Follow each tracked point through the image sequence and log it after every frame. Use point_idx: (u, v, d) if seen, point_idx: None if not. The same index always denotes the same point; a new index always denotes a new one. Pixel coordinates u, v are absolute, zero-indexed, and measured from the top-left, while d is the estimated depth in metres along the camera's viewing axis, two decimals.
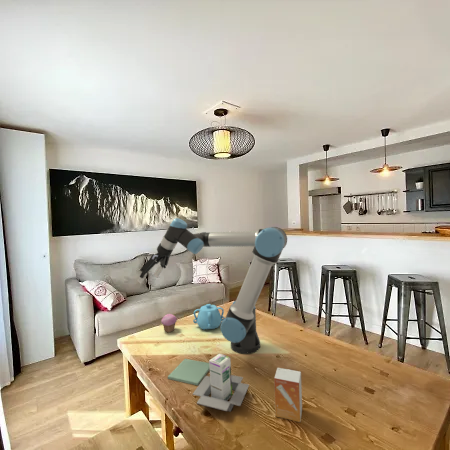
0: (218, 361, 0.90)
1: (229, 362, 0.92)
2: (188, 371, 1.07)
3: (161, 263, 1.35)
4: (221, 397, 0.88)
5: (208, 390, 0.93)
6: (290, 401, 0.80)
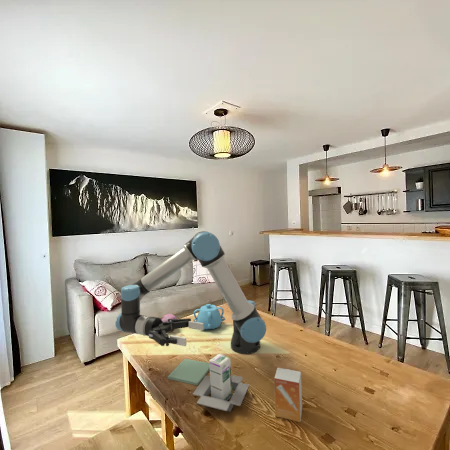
0: (218, 361, 0.90)
1: (229, 362, 0.92)
2: (188, 371, 1.07)
3: (182, 325, 1.04)
4: (221, 397, 0.88)
5: (208, 390, 0.93)
6: (290, 401, 0.80)
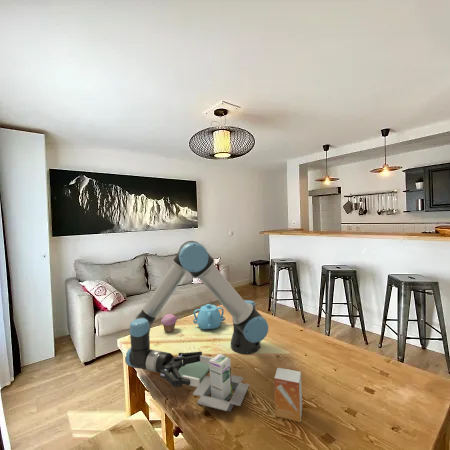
0: (218, 361, 0.90)
1: (229, 362, 0.92)
2: (188, 371, 1.07)
3: (194, 360, 1.02)
4: (221, 397, 0.88)
5: (208, 390, 0.93)
6: (290, 401, 0.80)
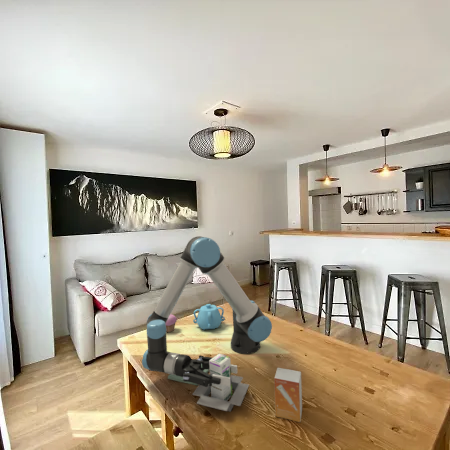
0: (218, 361, 0.90)
1: (229, 362, 0.92)
2: None
3: None
4: (221, 397, 0.88)
5: (208, 390, 0.93)
6: (290, 401, 0.80)
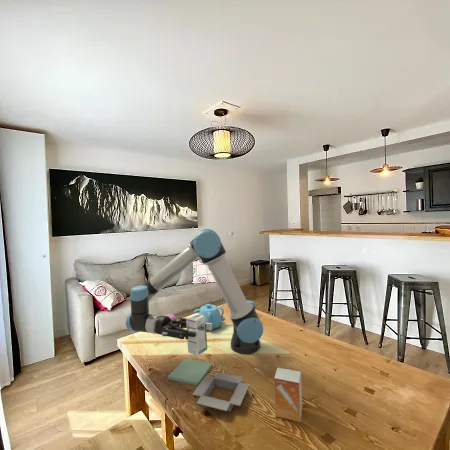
0: (194, 318, 1.00)
1: (204, 319, 1.02)
2: (188, 371, 1.07)
3: None
4: (196, 350, 0.98)
5: (208, 390, 0.93)
6: (290, 401, 0.80)
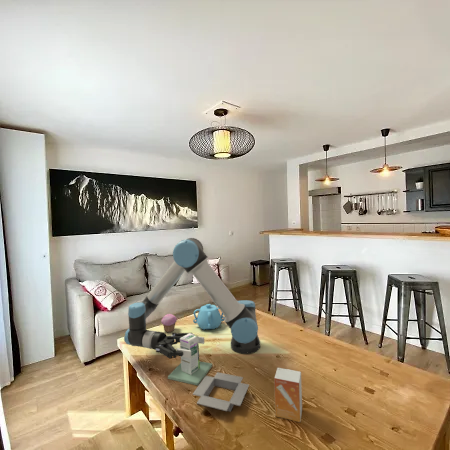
0: (187, 338, 1.06)
1: (197, 339, 1.08)
2: None
3: None
4: (189, 369, 1.05)
5: (208, 390, 0.93)
6: (290, 401, 0.80)
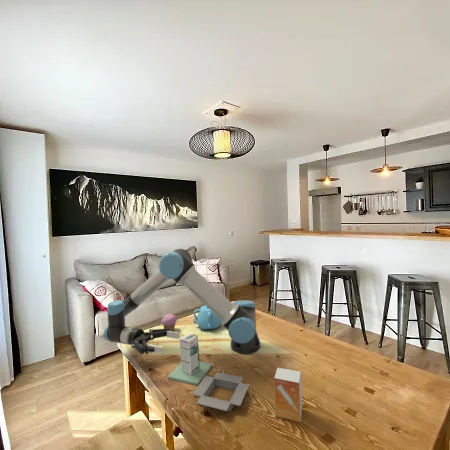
0: (187, 338, 1.06)
1: (197, 340, 1.08)
2: None
3: (161, 335, 1.20)
4: (189, 369, 1.05)
5: (208, 390, 0.93)
6: (290, 401, 0.80)
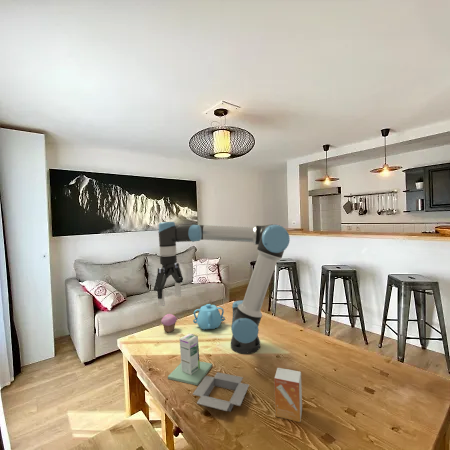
0: (187, 338, 1.06)
1: (197, 340, 1.08)
2: None
3: (175, 279, 1.21)
4: (189, 369, 1.05)
5: (208, 390, 0.93)
6: (290, 401, 0.80)
